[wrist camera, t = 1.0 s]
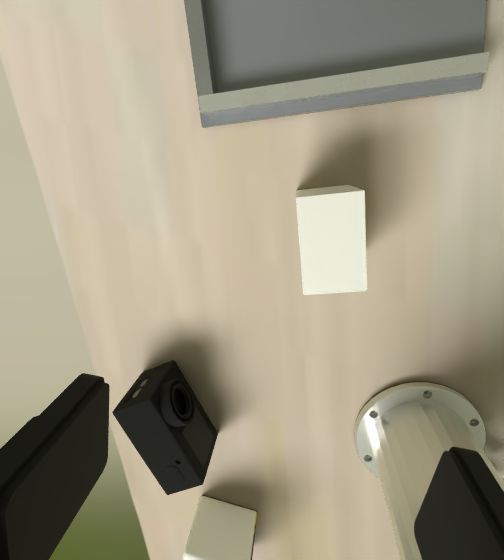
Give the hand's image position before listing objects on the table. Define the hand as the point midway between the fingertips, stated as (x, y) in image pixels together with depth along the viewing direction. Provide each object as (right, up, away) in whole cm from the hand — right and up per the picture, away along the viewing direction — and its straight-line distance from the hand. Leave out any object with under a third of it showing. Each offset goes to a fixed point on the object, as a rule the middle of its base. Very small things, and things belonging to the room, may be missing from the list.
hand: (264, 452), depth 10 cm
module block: (+6, +10, +23) cm, 25 cm away
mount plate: (+6, +25, +18) cm, 31 cm away
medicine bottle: (-4, -25, +35) cm, 43 cm away
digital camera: (-8, -9, +30) cm, 33 cm away
